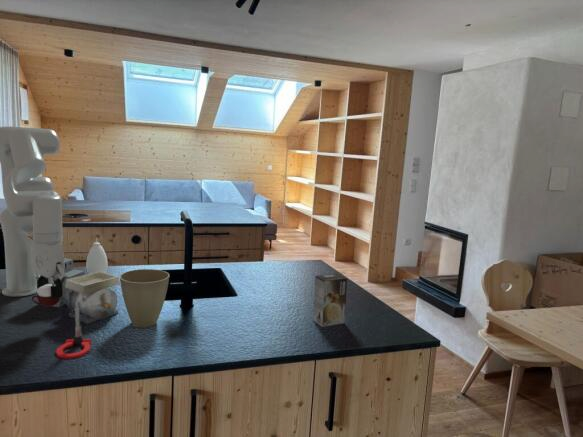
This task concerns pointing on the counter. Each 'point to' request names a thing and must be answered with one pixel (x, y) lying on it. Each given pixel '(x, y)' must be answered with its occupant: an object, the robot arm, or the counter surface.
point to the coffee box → (330, 299)
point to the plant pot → (144, 295)
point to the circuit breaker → (69, 274)
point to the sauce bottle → (96, 259)
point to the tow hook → (75, 340)
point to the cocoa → (46, 295)
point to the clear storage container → (92, 296)
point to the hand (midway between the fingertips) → (49, 294)
